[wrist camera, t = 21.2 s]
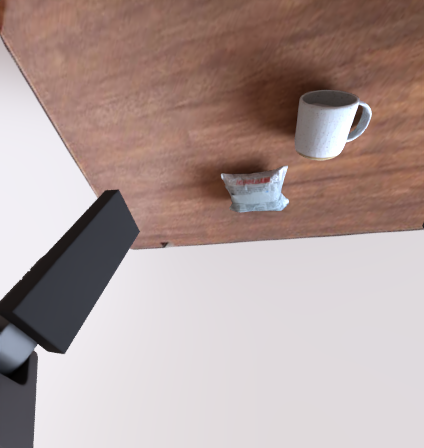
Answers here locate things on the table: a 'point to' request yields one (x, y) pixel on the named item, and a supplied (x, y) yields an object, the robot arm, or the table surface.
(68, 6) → the table surface
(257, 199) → the packaged food
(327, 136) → the ceramic mug
